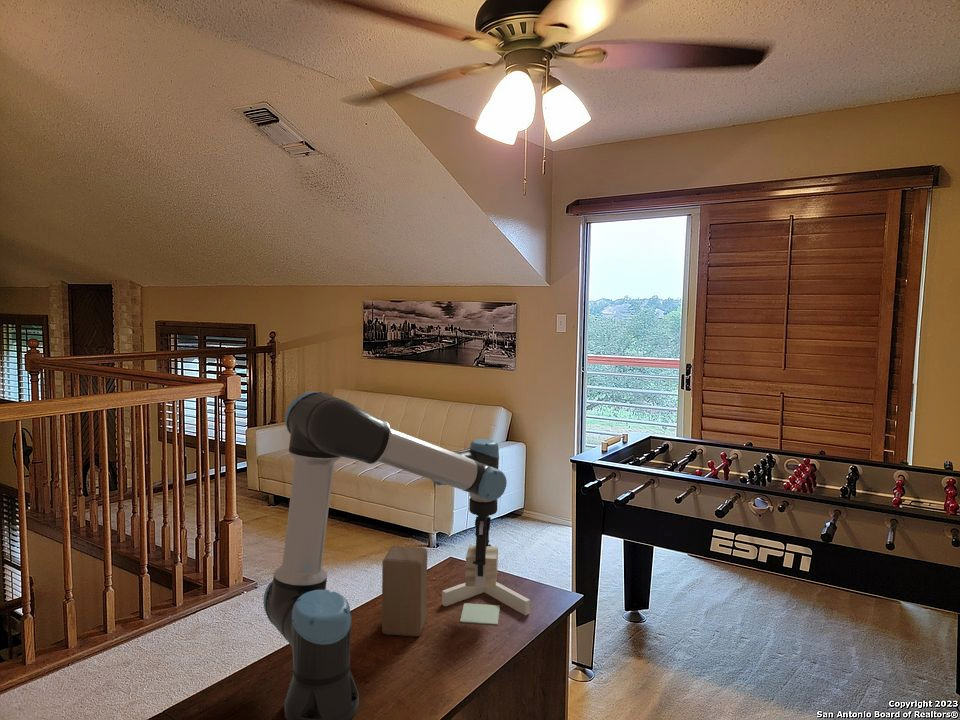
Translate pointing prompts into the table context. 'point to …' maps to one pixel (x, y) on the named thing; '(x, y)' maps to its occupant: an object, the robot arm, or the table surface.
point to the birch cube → (490, 566)
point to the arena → (481, 611)
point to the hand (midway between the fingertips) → (481, 579)
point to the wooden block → (404, 591)
